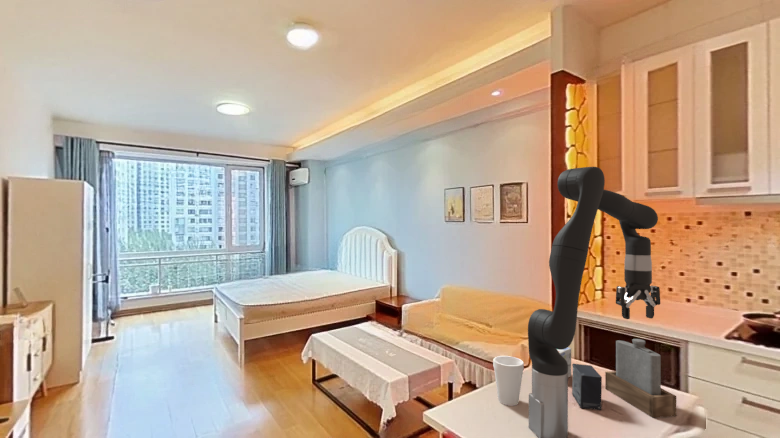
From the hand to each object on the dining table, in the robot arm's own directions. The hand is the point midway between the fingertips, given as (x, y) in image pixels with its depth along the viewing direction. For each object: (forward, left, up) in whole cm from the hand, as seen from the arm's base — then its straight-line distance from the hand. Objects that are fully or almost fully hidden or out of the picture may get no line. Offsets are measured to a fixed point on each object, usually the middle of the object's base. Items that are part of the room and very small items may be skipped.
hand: (638, 318), depth 124 cm
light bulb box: (-15, +22, -27) cm, 38 cm away
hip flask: (0, 0, -27) cm, 27 cm away
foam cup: (-42, +6, -27) cm, 50 cm away
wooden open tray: (0, 0, -27) cm, 27 cm away
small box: (-17, +2, -27) cm, 32 cm away
